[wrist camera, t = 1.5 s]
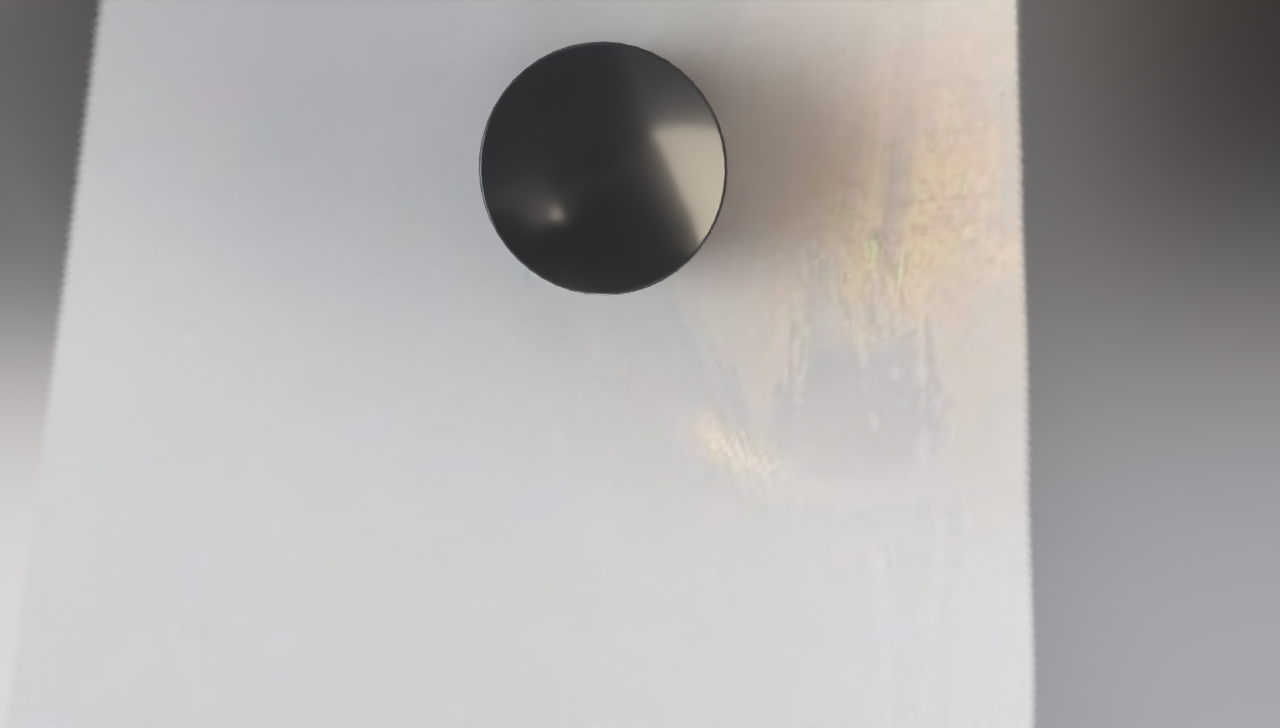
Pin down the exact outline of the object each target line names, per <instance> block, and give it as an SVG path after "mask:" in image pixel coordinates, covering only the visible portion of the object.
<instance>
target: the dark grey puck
mask: <svg viewBox="0 0 1280 728" xmlns="http://www.w3.org/2000/svg"><path fill="white" fill-rule="evenodd" d="M479 177H480V187H481V192H482V196H483V201H484V205H485V207H486V210H487V213H488V216H489V218H490V221H491V223H492V224H493V226H494V228H495V230H496V232H497V234H498V236H499V237H500V238H501V240H502V241H503V243H504V244H505V246H506V247H507V248H508V249H509V251H510V252H511V253H512V254H513V255H514V256H515V257H516V258H517V259H518V260H519V261H520V262H521V263H522V264H523V265H524V266H526V267H527V268H528V269H529V270H530V271H532V272H533V273H535V274H536V275H538V276H539V277H541V278H542V279H544V280H546V281H548V282H550V283H552V284H554V285H556V286H559V287H562V288H565V289H568V290H571V291H575V292H580V293H584V294H593V295H618V294H624V293H629V292H635V291H638V290H641V289H644V288H647V287H650V286H652V285H654V284H656V283H658V282H660V281H662V280H664V279H666V278H667V277H669V276H670V275H672V274H674V273H675V272H677V271H678V270H679V269H680V268H681V267H683V266H684V265H685V264H686V263H687V262H689V261H690V260H691V258H692V257H693V256H694V255H695V254H696V253H697V252H698V251H699V250H700V248H701V247H702V245H703V244H704V243H705V241H706V240H707V238H708V237H709V235H710V233H711V231H712V229H713V228H714V226H715V224H716V222H717V219H718V217H719V214H720V211H721V208H722V205H723V201H724V196H725V192H726V184H727V154H726V148H725V142H724V138H723V135H722V131H721V128H720V125H719V122H718V120H717V118H716V116H715V113H714V111H713V109H712V107H711V106H710V104H709V102H708V101H707V99H706V98H705V96H704V94H703V93H702V92H701V91H700V89H699V88H698V87H697V86H696V85H695V83H694V82H693V81H692V80H691V79H690V78H689V77H688V76H687V75H686V74H684V73H683V72H682V71H681V70H680V69H679V68H677V67H676V66H675V65H673V64H672V63H670V62H669V61H668V60H666V59H664V58H662V57H660V56H658V55H656V54H654V53H653V52H650V51H647V50H645V49H642V48H639V47H636V46H632V45H627V44H623V43H616V42H587V43H582V44H577V45H572V46H568V47H565V48H562V49H559V50H557V51H554V52H552V53H550V54H548V55H546V56H544V57H542V58H540V59H539V60H537V61H536V62H534V63H533V64H531V65H530V66H529V67H527V68H526V69H525V70H523V71H522V72H521V73H520V74H519V75H518V76H517V77H516V78H515V79H514V80H513V81H512V82H511V83H510V85H509V86H508V87H507V88H506V89H505V91H504V92H503V93H502V95H501V96H500V98H499V100H498V101H497V103H496V104H495V106H494V108H493V110H492V112H491V114H490V117H489V119H488V121H487V124H486V127H485V131H484V134H483V137H482V142H481V149H480V155H479Z"/></svg>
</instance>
